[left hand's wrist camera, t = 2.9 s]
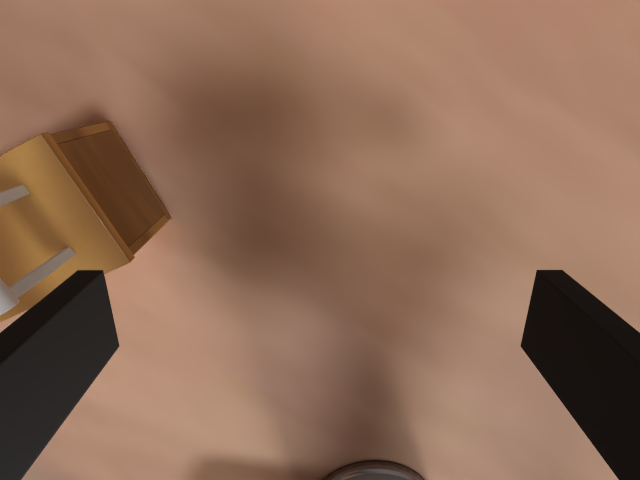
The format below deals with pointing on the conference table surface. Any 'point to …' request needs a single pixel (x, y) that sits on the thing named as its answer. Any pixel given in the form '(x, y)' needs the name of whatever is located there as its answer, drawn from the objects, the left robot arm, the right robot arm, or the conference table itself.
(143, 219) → the chest
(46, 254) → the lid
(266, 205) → the conference table surface
